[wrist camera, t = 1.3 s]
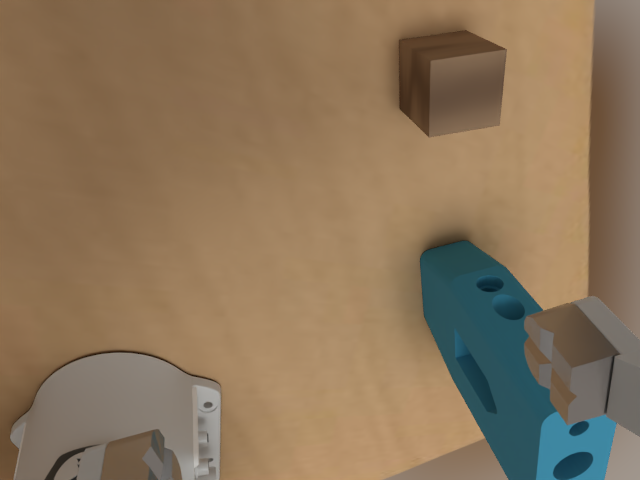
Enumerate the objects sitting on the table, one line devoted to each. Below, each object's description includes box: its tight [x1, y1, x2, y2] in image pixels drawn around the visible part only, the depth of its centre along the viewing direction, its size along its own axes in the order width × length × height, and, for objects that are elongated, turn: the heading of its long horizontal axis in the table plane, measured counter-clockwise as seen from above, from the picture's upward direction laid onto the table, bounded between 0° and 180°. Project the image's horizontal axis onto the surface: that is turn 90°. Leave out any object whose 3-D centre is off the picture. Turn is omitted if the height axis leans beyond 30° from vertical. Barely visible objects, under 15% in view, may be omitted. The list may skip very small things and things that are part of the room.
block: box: [420, 241, 616, 480], centre depth 43 cm, size 12×5×20 cm, turn 9°
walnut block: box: [399, 31, 507, 137], centre depth 38 cm, size 5×5×6 cm
